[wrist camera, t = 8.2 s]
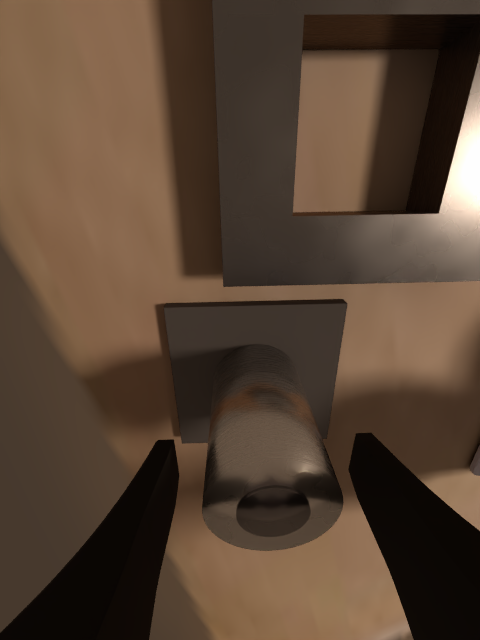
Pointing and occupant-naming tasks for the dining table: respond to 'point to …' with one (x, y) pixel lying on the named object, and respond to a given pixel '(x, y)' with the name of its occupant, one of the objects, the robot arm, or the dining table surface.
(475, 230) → the block
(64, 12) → the dining table surface
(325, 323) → the rubber mat
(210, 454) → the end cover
